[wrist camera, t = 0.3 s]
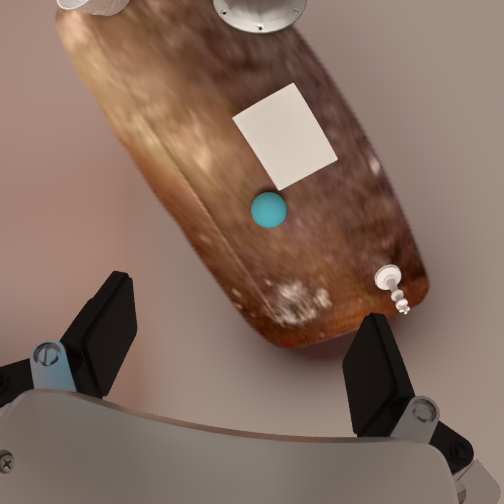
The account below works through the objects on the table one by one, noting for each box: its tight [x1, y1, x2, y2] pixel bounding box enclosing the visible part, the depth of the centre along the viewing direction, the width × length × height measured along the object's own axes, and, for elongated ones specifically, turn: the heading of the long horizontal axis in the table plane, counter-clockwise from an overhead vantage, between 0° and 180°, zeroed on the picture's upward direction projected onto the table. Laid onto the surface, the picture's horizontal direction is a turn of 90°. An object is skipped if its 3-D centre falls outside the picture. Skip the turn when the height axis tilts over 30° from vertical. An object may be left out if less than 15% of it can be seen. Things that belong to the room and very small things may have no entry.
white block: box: [232, 83, 338, 191], centre depth 35 cm, size 10×8×9 cm
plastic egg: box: [251, 192, 287, 228], centre depth 43 cm, size 5×5×5 cm
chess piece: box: [375, 265, 410, 314], centre depth 45 cm, size 5×5×10 cm
